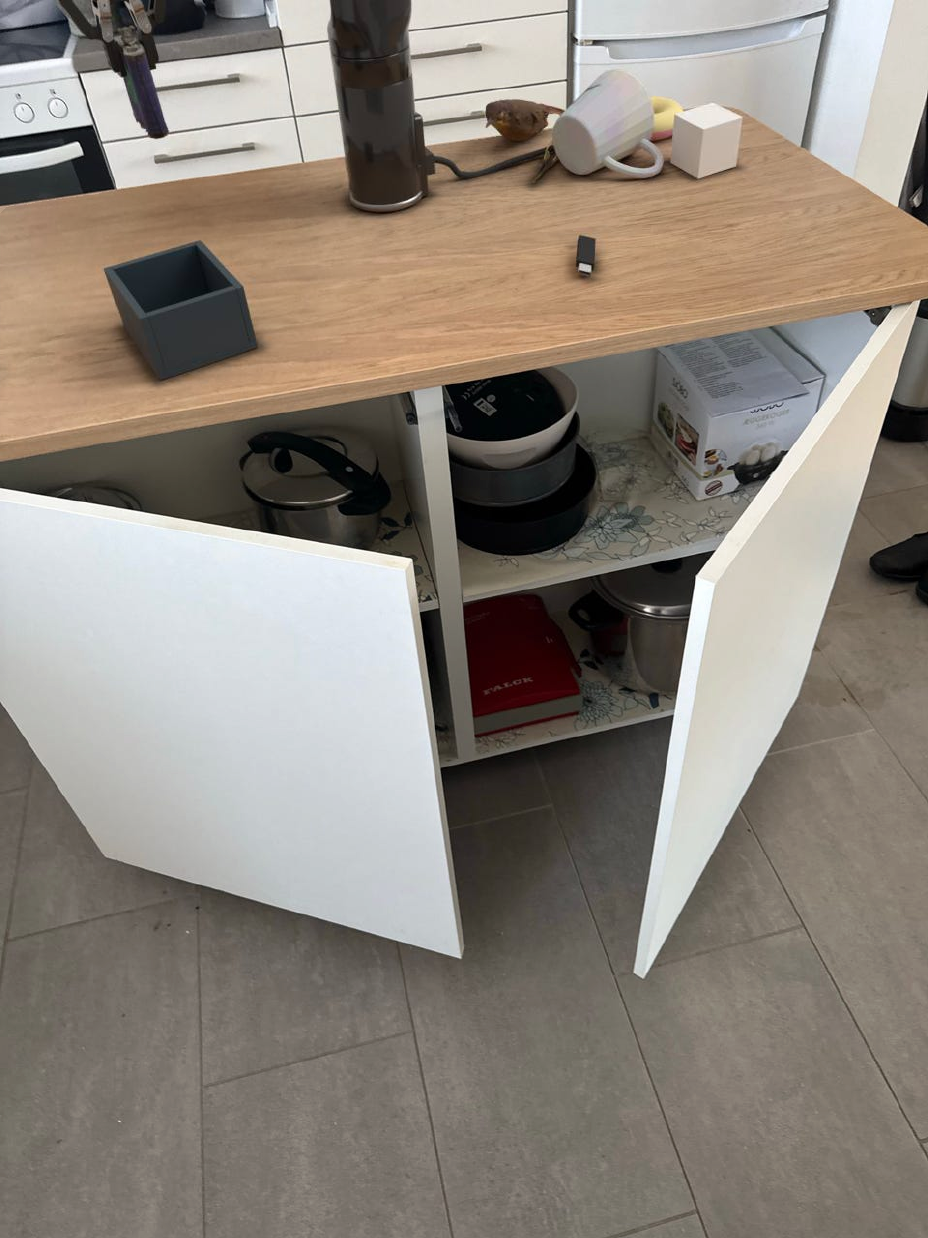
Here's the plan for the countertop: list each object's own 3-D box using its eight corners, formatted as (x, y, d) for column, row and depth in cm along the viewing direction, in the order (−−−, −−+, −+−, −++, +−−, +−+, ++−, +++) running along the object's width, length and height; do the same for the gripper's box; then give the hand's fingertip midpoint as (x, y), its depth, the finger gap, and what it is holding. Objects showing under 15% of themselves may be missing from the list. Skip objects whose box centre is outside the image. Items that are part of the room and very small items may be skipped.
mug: (534, 151, 125) (584, 116, 129) (614, 225, 124) (662, 188, 127) (554, 85, 115) (607, 49, 119) (641, 165, 114) (692, 126, 117)
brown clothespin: (539, 186, 121) (539, 175, 120) (520, 186, 122) (519, 175, 121) (570, 149, 128) (569, 138, 127) (552, 149, 129) (551, 138, 128)
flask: (132, 117, 117) (103, 19, 109) (155, 112, 118) (128, 14, 110) (150, 141, 112) (121, 38, 104) (174, 135, 112) (147, 33, 104)
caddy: (216, 298, 105) (200, 239, 100) (258, 347, 98) (243, 286, 93) (124, 327, 102) (103, 268, 97) (160, 380, 94) (139, 319, 89)
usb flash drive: (577, 266, 103) (574, 275, 104) (594, 270, 103) (591, 279, 104) (579, 234, 108) (577, 242, 109) (596, 238, 108) (593, 246, 109)
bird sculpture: (579, 138, 141) (585, 100, 138) (504, 149, 122) (509, 105, 119) (539, 130, 143) (544, 93, 140) (459, 140, 124) (464, 97, 122)
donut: (689, 141, 133) (634, 118, 137) (700, 106, 130) (643, 84, 133) (654, 154, 127) (598, 130, 130) (665, 117, 124) (606, 94, 127)
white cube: (674, 113, 119) (669, 162, 123) (703, 128, 115) (697, 178, 120) (713, 102, 121) (707, 150, 125) (743, 116, 117) (736, 166, 121)
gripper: (137, -129, 102) (183, 50, 115) (7, -105, 98) (69, 77, 111) (158, -120, 98) (204, 65, 110) (23, -95, 93) (86, 95, 106)
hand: (136, 70), depth 110 cm, fingers closed on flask, 3 cm apart
